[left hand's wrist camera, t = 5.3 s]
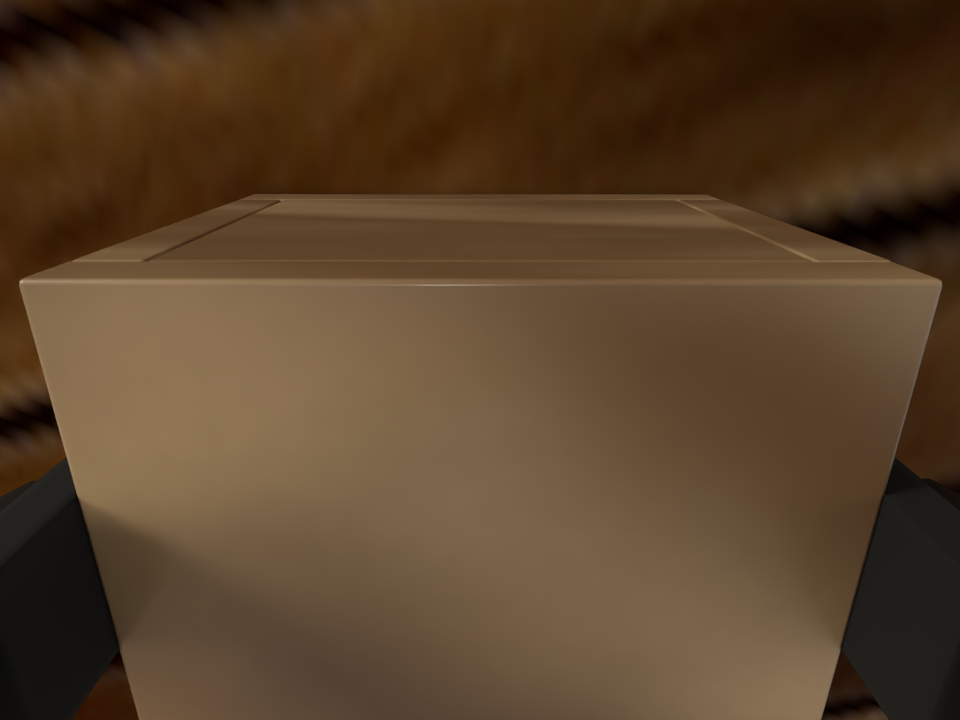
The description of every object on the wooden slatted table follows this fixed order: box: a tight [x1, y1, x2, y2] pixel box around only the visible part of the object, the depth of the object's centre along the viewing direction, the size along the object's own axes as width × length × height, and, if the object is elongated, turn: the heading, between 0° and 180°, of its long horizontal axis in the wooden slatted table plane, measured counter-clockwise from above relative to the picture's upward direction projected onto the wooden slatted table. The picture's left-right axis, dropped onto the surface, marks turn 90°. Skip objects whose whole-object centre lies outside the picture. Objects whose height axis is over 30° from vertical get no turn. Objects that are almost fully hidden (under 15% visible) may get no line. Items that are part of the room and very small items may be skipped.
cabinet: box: [19, 194, 942, 720], centre depth 14 cm, size 16×11×8 cm, turn 0°
